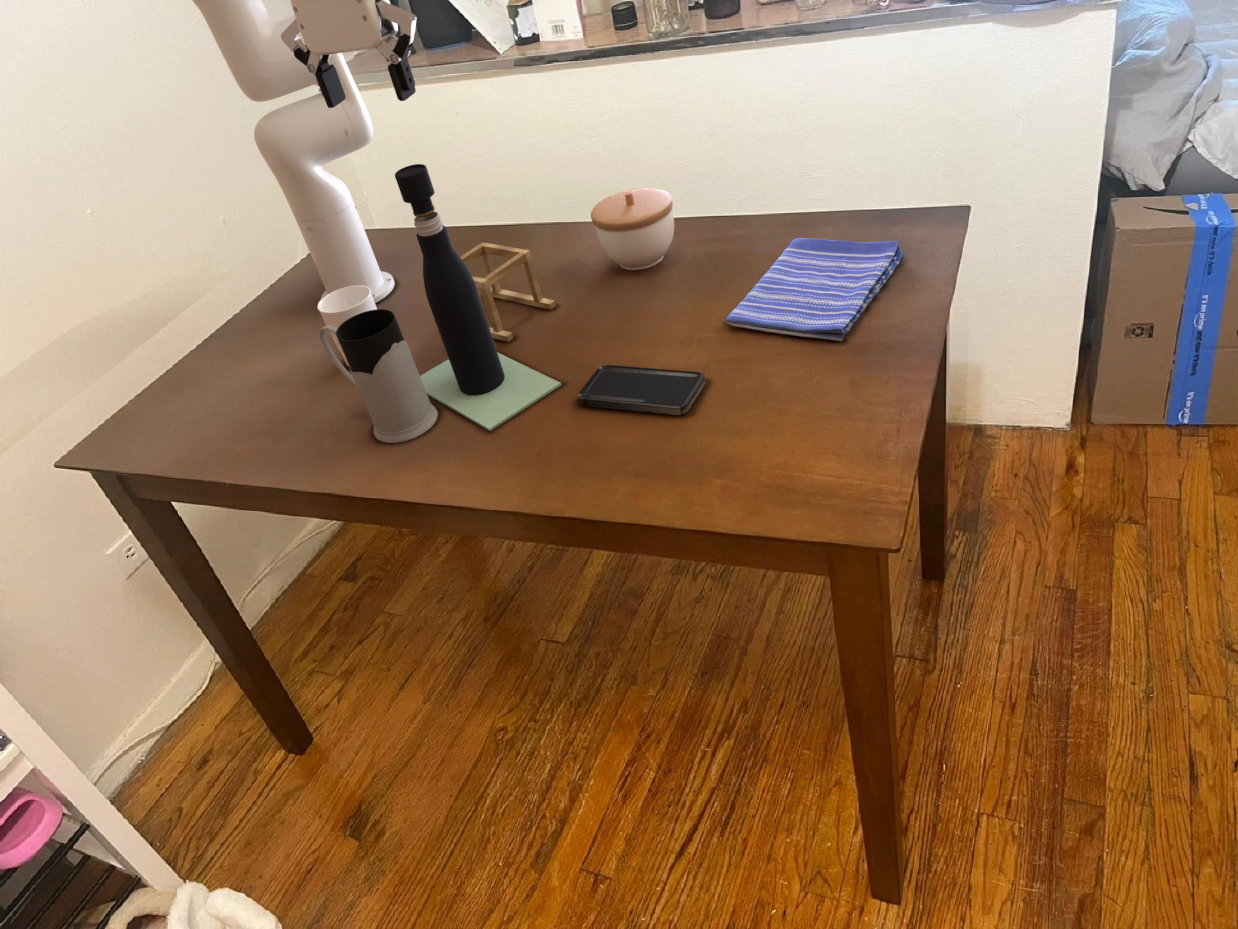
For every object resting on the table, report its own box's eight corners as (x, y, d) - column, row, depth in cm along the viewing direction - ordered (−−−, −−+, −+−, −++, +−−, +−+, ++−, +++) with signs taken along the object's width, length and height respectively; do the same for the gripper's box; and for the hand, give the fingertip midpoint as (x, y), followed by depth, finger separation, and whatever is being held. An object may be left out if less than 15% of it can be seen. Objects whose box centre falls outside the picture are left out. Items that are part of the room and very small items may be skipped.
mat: (409, 384, 133) (408, 382, 133) (477, 344, 139) (476, 342, 138) (489, 431, 120) (489, 428, 120) (561, 385, 125) (560, 382, 125)
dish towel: (906, 256, 134) (906, 237, 132) (845, 344, 119) (844, 325, 118) (793, 247, 143) (791, 230, 141) (723, 329, 128) (720, 310, 127)
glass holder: (408, 448, 121) (365, 347, 112) (332, 429, 128) (287, 333, 119) (450, 409, 126) (414, 310, 117) (375, 392, 133) (335, 299, 124)
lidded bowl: (682, 270, 144) (671, 201, 138) (601, 284, 146) (586, 217, 139) (679, 235, 154) (668, 169, 148) (603, 248, 156) (589, 184, 149)
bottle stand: (444, 325, 146) (424, 271, 140) (491, 292, 151) (475, 239, 146) (508, 342, 137) (490, 285, 132) (556, 306, 143) (541, 250, 138)
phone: (600, 364, 125) (706, 372, 118) (602, 371, 126) (708, 379, 119) (574, 398, 120) (683, 409, 113) (576, 405, 120) (685, 416, 114)
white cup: (404, 344, 143) (381, 285, 137) (373, 373, 138) (348, 313, 132) (363, 341, 147) (339, 284, 141) (332, 369, 141) (306, 311, 135)
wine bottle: (497, 394, 126) (425, 178, 108) (453, 396, 128) (375, 184, 110) (510, 367, 131) (444, 156, 113) (467, 370, 132) (395, 162, 114)
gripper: (402, -84, 99) (450, 82, 110) (269, -60, 106) (327, 95, 116) (367, -67, 94) (421, 106, 105) (229, -43, 100) (294, 118, 111)
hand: (372, 100), depth 110 cm, fingers open, 9 cm apart
